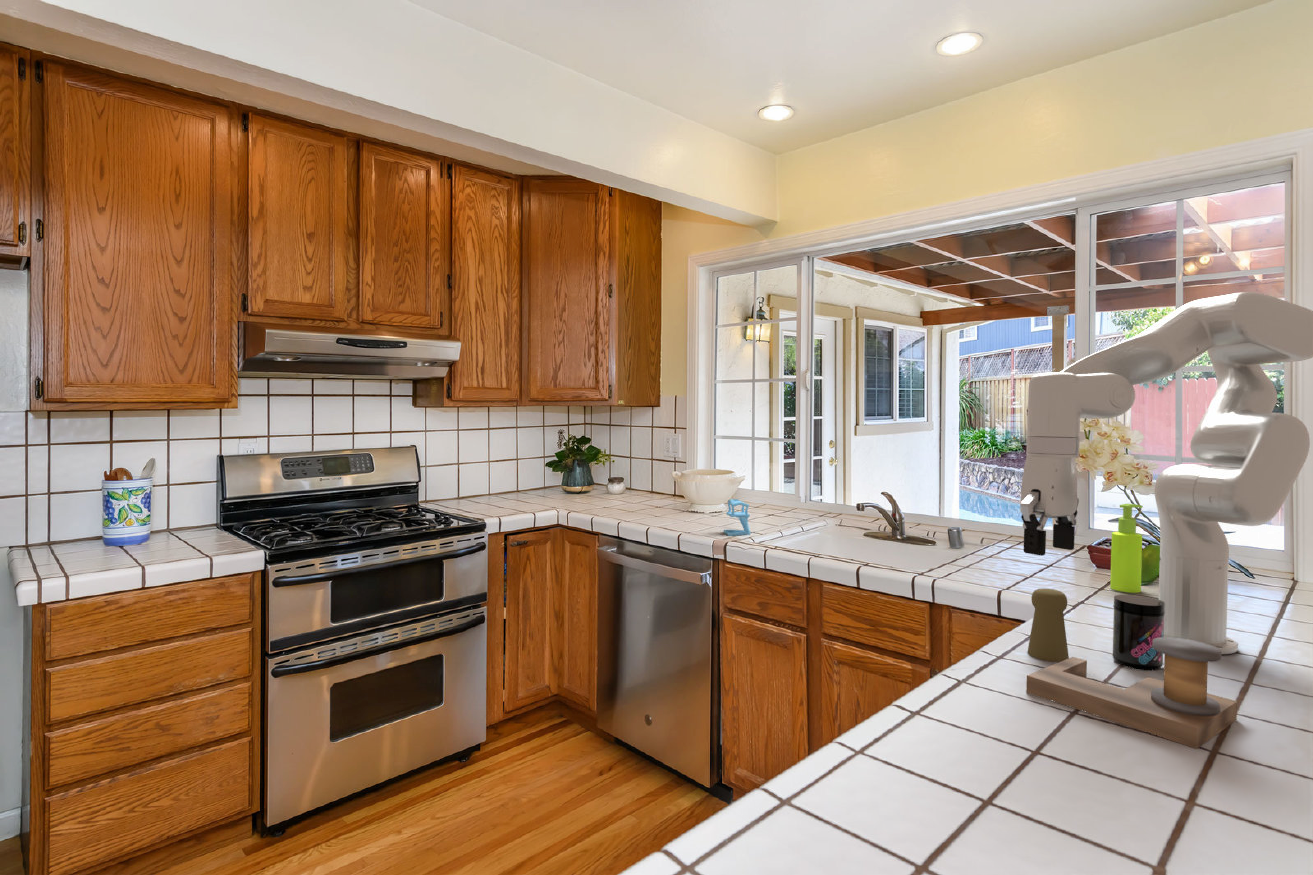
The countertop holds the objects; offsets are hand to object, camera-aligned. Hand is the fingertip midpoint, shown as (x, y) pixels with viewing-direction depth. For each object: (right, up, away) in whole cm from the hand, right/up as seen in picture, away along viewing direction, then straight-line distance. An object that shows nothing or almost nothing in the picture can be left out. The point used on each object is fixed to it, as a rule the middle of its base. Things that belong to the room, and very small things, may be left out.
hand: (1049, 551), depth 112 cm
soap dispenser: (+45, -17, +46) cm, 67 cm away
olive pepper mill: (0, -18, +1) cm, 18 cm away
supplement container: (+12, -18, -3) cm, 22 cm away
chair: (-37, -14, +119) cm, 126 cm away
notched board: (-1, -18, -19) cm, 26 cm away
